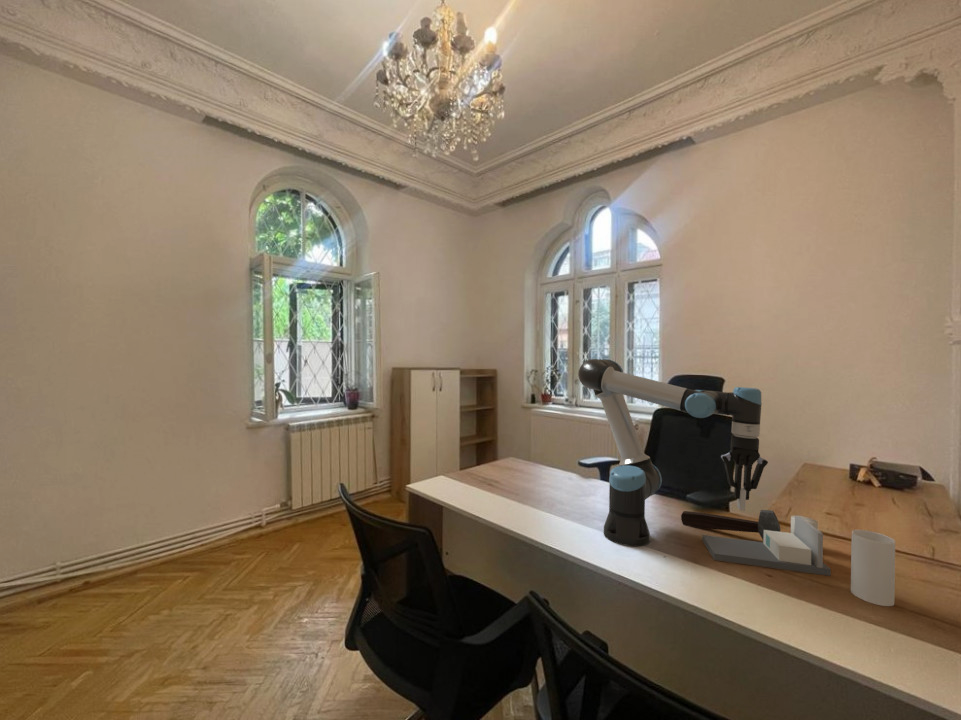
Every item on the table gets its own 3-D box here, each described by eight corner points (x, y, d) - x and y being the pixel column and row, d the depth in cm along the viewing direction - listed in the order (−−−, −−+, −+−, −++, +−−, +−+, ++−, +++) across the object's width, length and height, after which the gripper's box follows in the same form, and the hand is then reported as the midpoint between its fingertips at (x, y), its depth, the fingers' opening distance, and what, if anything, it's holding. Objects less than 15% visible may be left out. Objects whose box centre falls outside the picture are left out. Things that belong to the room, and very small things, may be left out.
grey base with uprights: (714, 559, 123) (714, 521, 124) (702, 540, 137) (702, 505, 137) (830, 576, 115) (831, 534, 115) (805, 553, 129) (806, 516, 129)
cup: (842, 588, 109) (843, 529, 109) (869, 587, 110) (870, 529, 110) (874, 606, 101) (875, 543, 101) (903, 605, 101) (904, 542, 102)
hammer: (682, 535, 150) (782, 549, 131) (678, 504, 151) (777, 514, 132) (685, 531, 153) (782, 544, 135) (681, 501, 154) (777, 510, 136)
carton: (779, 560, 120) (779, 545, 120) (763, 543, 131) (763, 529, 131) (811, 565, 117) (811, 549, 117) (792, 547, 129) (792, 533, 129)
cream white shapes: (796, 549, 132) (797, 522, 132) (786, 540, 138) (787, 514, 138) (821, 552, 130) (822, 525, 130) (810, 543, 136) (811, 517, 136)
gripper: (725, 436, 126) (721, 510, 126) (773, 440, 122) (769, 516, 123) (718, 431, 133) (714, 502, 133) (763, 435, 129) (759, 507, 130)
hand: (740, 508), depth 128 cm, fingers closed
